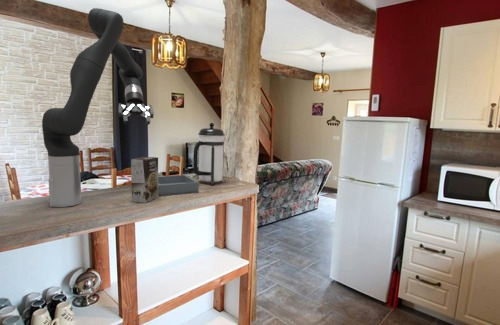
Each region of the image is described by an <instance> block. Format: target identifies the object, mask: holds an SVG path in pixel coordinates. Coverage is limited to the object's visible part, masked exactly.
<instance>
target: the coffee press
mask: <svg viewBox="0 0 500 325" xmlns="http://www.w3.org/2000/svg"><path fill="white" fill-rule="evenodd" d="M214 126H215V123H213V122H210V123H209V127H203V128H201V129H200V130H199V132H198V134H197V135H198V142H196V144H195V145H194V148H193V158H192V160H193V172H194V174H195V175H197V178H196V179H195V181H197V182H198V184H199V183H200V182H206V183H210V186H215V183H216V182H217V183H218V182H222V183H226V180H225V178H224V164H225V163H224V162H225V161H224V160H225V159H224V157H225V153H224V152H225V140H224V139H225V132H224V130H223V129H221V128H216V127H215V128H214ZM198 179H199V181H198ZM222 180H224V181H222Z"/></svg>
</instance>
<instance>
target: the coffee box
mask: <svg viewBox="0 0 500 325" xmlns="http://www.w3.org/2000/svg"><path fill="white" fill-rule="evenodd" d="M130 160H131V161H130V162H131V163H130V164H131V166H130V170H131V171H130V178H131V180H130V182H131V183H130V184H131V186H130V187H131V190H130V191H131V202H132V203H134V202H135V203H144V204H147V203H149V202H151V201H153V200H155V199H157V198H159V196H158V176H159V157H156V156H155V157H154V156H142V157H136V158H131V159H130Z"/></svg>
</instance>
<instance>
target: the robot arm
mask: <svg viewBox="0 0 500 325" xmlns="http://www.w3.org/2000/svg"><path fill="white" fill-rule="evenodd" d="M87 20H88V22H87V23H88V25H89V28H90V31H92V33H93V34H94V35H95V36H96V37H97V38H98V40H97V41H96V42H94V43H93V44H91V45H89V46H88V47H86V48H85V49H83V50H82V51H81V52H80V53H78V54H77V56H76V58H75V60H74V62H73V64H72V67H71V68H70V73H69V78H70V80H69V81H70V87H71V90H70V94H69V97H68V99H67V101H66V103H65V105H64V107H53V108H52V107H51V108H48V109H47V110H46V111H44V114H43V116H42V118H41V119H42V120H41V126H42V127H41V128H42V136H43V137H42V138H43V144H44V147H45V148H46V151H47V159H48V160H47V161H48V193H49V195H48V196H49V198H48V199H49V207H50V208H51V207H52V208H53V207H56V208H64V207H72V206H76V205H77V206H78V205H79V204H81V203H82V182H81V179H82V178H81V162H80V161H81V160H80V159H81V158H80V155H81V154H80V147H79V146H77V145H76V144H75V143H74V142H73V141H72V139H71V137H72V136H76V135H78V134H79V133H80V132H81V131H82V129H83V127H84V125H85V121H86V118H87V115H88V111H89V107H90V104H91V102H92V99H93V97H94V94H95V91H96V89H97V87H98V84H99V82H100V80H101V78H102V76H103V73H104V70H105V67H106V66H107V62H108V60H109V58H110V56H112V57H113V59H114V61H115V62H116V65H117V66H118V67H119V69H118V75H119V77H120V79H121V81H122V83H123V85H124V98H125V104H122V103H118V117H119V118H123V123H124V124H125V125H128V123H129V120H128V119H129V118H128V117H130V116H131V114H132V115H133V116H134V115H139V116H142V117H144V118H145V122H146V125H147V126H149V125H151V119H153V118H154V115H155V113H154V109H153V106H152V105H151V104H149V105H147V106H146V104H145V102H144V95H143V90H142V87H141V82H140V80H141V79H142V78H143V75H144V73H143V69H142V68H141V66H140V65H139V64H138V63H137V62H136V61H135V60H134V59H133V58H132V57H133V56H132V55H131V54H130V51H129V50H128V49H127V47H126V46H125V45H124V44H123V43H122V42H121V41H120V40H119V39H121V38H120V37H121V36H122V33H123V30H124V18H123V16H122V15H121V14H120V13H119V12H117V11H114V10H113V11H112V10H108V9H103V8H99V7H94V8H92V9H90V11H89V12H88V16H87ZM124 110H125V111H124ZM123 111H124V112H123Z"/></svg>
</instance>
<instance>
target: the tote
mask: <svg viewBox="0 0 500 325" xmlns="http://www.w3.org/2000/svg"><path fill="white" fill-rule="evenodd" d="M198 182H199V181H198V180H197V181H196V179H193V178H191V177H190V176H188V175H187V174H178V175H176V174H175V175H165V176H164V175H163V176H162V175H160V176H159V175H158V197H165V196H177V195H188V194H198V193H199V183H198Z"/></svg>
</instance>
